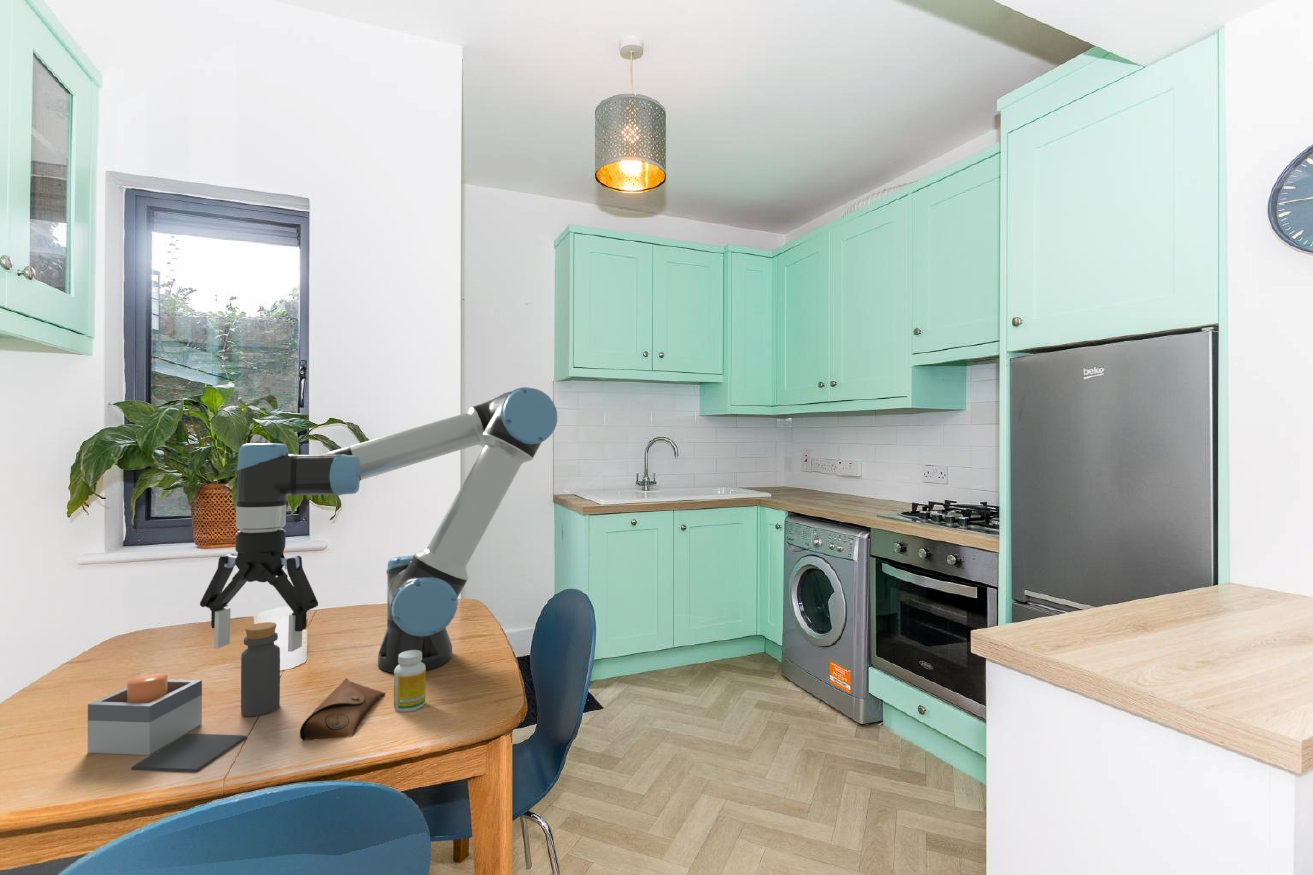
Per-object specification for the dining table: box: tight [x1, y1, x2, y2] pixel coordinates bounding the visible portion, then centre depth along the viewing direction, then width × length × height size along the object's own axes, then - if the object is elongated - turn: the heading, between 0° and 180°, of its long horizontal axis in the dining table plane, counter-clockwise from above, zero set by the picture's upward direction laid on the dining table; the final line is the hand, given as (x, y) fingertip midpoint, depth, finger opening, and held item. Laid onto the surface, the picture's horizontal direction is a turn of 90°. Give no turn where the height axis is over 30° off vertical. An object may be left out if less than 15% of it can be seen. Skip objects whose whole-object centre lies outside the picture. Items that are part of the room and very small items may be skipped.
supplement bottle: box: [393, 650, 427, 713], centre depth 110 cm, size 5×5×10 cm
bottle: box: [240, 621, 281, 717], centre depth 108 cm, size 6×6×15 cm
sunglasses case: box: [299, 678, 386, 742], centre depth 107 cm, size 18×7×7 cm, turn 9°
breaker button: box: [126, 672, 169, 703], centre depth 98 cm, size 5×5×6 cm
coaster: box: [131, 733, 248, 773], centre depth 93 cm, size 10×10×1 cm
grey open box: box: [87, 678, 203, 756], centre depth 98 cm, size 10×10×8 cm
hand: (258, 647), depth 108 cm, fingers open, 13 cm apart
